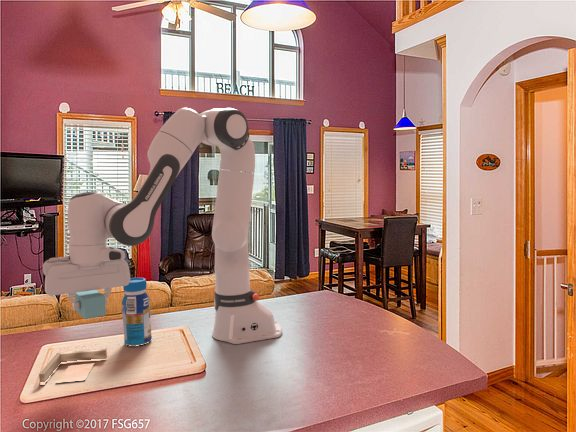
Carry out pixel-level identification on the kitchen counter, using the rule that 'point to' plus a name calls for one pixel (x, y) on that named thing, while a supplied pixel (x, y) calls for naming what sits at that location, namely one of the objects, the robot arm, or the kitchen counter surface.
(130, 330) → the beverage bottle
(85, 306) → the teal block
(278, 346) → the kitchen counter surface
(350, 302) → the kitchen counter surface
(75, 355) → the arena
